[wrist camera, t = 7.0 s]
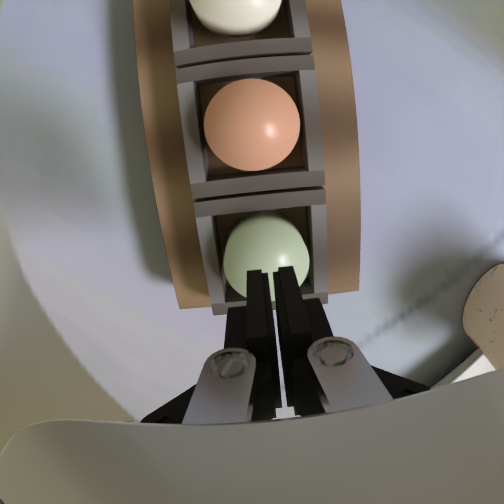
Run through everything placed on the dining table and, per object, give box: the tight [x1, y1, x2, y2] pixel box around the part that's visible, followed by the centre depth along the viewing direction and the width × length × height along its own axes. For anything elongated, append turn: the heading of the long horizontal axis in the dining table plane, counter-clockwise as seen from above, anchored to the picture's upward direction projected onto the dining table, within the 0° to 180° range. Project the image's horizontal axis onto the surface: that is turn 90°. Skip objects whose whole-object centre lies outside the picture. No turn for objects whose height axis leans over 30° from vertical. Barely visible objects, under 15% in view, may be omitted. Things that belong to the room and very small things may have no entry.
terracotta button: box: [204, 78, 300, 171], centre depth 15 cm, size 4×4×2 cm
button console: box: [133, 0, 361, 315], centre depth 17 cm, size 22×12×5 cm, turn 6°
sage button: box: [224, 211, 309, 301], centre depth 18 cm, size 4×4×2 cm
